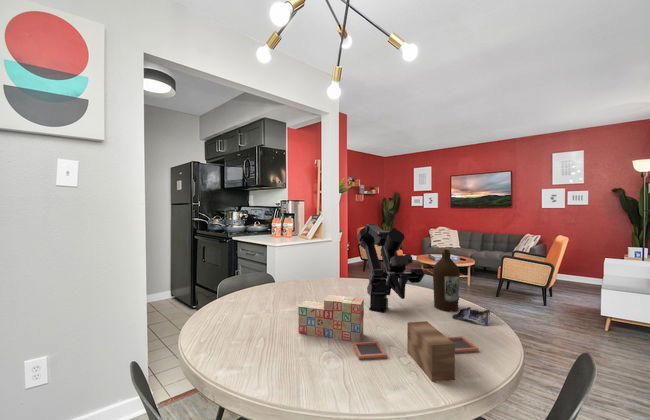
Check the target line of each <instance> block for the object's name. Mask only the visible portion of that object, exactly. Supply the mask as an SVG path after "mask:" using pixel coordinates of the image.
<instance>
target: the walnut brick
mask: <svg viewBox="0 0 650 420" xmlns="http://www.w3.org/2000/svg"><path fill="white" fill-rule="evenodd" d="M406 327H407V328H406V329H407V331H406V332H407V333H406V334H407V338H406V340H407V344H406V345H407V347H406V350H407V354H408V355H409V356H410V358H411V359H412V360H413V361H414V362H415V364H416V365H417V366H418V367H419V368H420V369H421V371H422V372H423V373H424V374H425V376H427V377H428V379H429V380H430V381H431V382H432V383H434V382H442V381H443V382H446V381H455V380H456V378H455V377H456V372H455V371H456V359H455V358H456V353H455V343H453V342H452V341H451V340H450V339H448V338H447V337H448V336H446V335H444V333H442V332H441V331H440V330H438V329H437V328H436V327H435V326H433V325H432V324H431V323H430V322H428V321H427V320H425V321H423V320H422V321H408V322H407V326H406Z"/></svg>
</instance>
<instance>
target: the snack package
mask: <svg viewBox="0 0 650 420" xmlns="http://www.w3.org/2000/svg"><path fill="white" fill-rule="evenodd" d="M452 319H457V320H462V321H470V322H473V323H475V322H476V323H478V324H479V325H480V326H481V325H483V326H489V324H490V322H491V311H490V309H485V310H483V311H481V310H478V309H472V307H470V306H467V307H464V308H460V310H459V311H458V312H457V313H454V314H452Z"/></svg>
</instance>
